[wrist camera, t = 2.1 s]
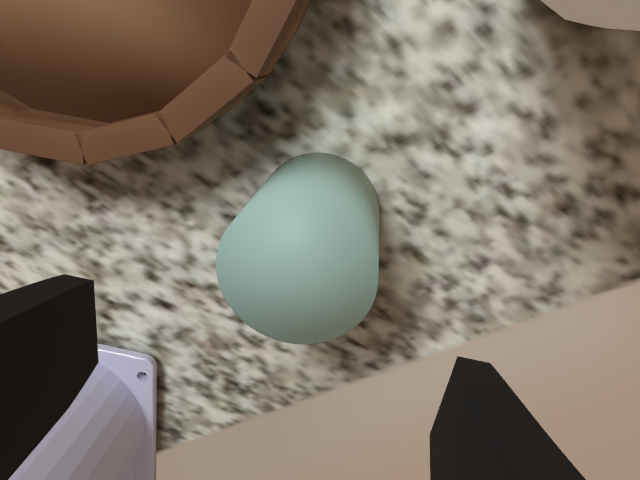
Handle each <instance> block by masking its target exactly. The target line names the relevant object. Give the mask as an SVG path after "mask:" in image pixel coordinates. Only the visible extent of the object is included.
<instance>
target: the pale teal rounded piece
mask: <svg viewBox="0 0 640 480" xmlns="http://www.w3.org/2000/svg"><path fill="white" fill-rule="evenodd" d="M379 226H380V207H379V200H378V196H377V193H376V191H375V188H374V186H373V185H372V183H371V181H370V180H369V178H368V177H367V176H366V175H365V173H364V172H363V171H362V170H360V169H359V168H358V167H357V166H356V165H354V164H353V163H351V162H350V161H348V160H346V159H344V158H341V157H339V156H336V155H332V154H327V153H308V154H303V155H300V156H296V157H294V158H292V159H290V160H288V161H286V162H285V163H283V164H282V165H281V166H279V167H278V168H277V169H276V170H275V171H274V172H273V173H272V175H271V176H270V177H269V178H268V179H267V181H266V182H265V183H264V184H263V185H262V187H261V188H260V189H259V190H258V192H257V193H256V194H255V195H254V196H253V198H252V199H251V200H250V201H249V202H248V204H247V205H246V206H245V207H244V208H243V210H242V211H241V212H240V213H239V214H238V216H237V217H236V218H235V219H234V220H233V222H232V223H231V224H230V225H229V227H228V228H227V230H226V231H225V233H224V235H223V237H222V239H221V241H220V244H219V247H218V250H217V257H216V273H217V279H218V283H219V286H220V289H221V291H222V294H223V296H224V298H225V300H226V301H227V303H228V305H229V306H230V307H231V309H232V310H233V311H234V313H235V314H236V315H237V316H238V317H239V318H240V319H241V320H242V321H243V322H245V323H246V324H247V325H248V326H250V327H251V328H253V329H254V330H256V331H257V332H259V333H261V334H263V335H265V336H267V337H270V338H272V339H275V340H278V341H282V342H286V343H293V344H316V343H322V342H326V341H329V340H333V339H335V338H338V337H340V336H342V335H344V334H345V333H347V332H349V331H350V330H352V329H353V328H354V327H355V326H357V325H358V324H359V323H360V322H361V321H362V320H363V319H364V317H365V316H366V315H367V313H368V312H369V310H370V308H371V306H372V304H373V302H374V300H375V297H376V294H377V288H378V277H379Z"/></svg>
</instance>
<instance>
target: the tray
mask: <svg viewBox="0 0 640 480" xmlns="http://www.w3.org/2000/svg"><path fill="white" fill-rule="evenodd" d="M310 1H311V0H0V149H3V150H9V151H14V152H19V153H24V154H29V155H34V156H40V157H45V158H50V159H55V160H60V161H65V162H71V163H76V164H81V165H85V164H87V165H90V164H94V163H98V162H103V161H107V160H111V159H116V158H120V157H124V156H129V155H133V154H137V153H141V152H146V151H150V150H154V149H159V148H163V147H167V146H172V145H175V144H177V143H179V142H181V141H183V140H185V139H187V138H189V137H191V136H193V135H195V134H196V133H198V132H200V131H201V130H202V129H204V128H205V127H206V126H207V125H209V124H210V123H211V122H212V121H214V120H215V119H216V118H217V117H219V116H220V115H221V114H223V113H224V112H226V111H227V110H229V109H230V108H232V107H233V106H234V105H236V104H237V103H239V102H240V101H241V100H242V99H243V98H244V97H245V96H246V95H247V94H248V93H249V92H250V91H251V90H253V89H254V88H255V87H256V86H257V85H258V84H260V83H261V82H262V81H263V80H265V79H266V78H267V77H268V76H267V74H271V72H272V70H273V68H274V67H275V65H276V63H277V61H278V60H279V59H280V57H281V56H282V54H283V52H284V51H285V49H286V47H287V46H288V44H289V43H290V41H291V39H292V38H293V36H294V34H295V33H296V31H297V29H298V28H299V25H300V23H301V21H302V19H303V17H304V14H305V12H306V10H307V8H308V5H309V3H310Z"/></svg>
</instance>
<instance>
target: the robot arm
mask: <svg viewBox="0 0 640 480" xmlns="http://www.w3.org/2000/svg"><path fill="white" fill-rule="evenodd" d="M142 372H143V373H146V375H144V374H143V373H142ZM156 416H157V363H156V361H155V359H154V358H153V357H152V356H150V355H148V354H144V353H139V352H135V351H130V350H125V349H121V348H116V347H111V346H107V345H102V344H97V328H96V311H95V295H94V280H89V279H84V278H79V277H75V276H70V275H65V274H64V275H60V276H56V277H53V278H49V279H46V280H42V281H39V282H36V283H33V284H30V285H27V286H24V287H21V288H18V289H15V290H12V291H9V292H6V293H4V294H1V295H0V480H156ZM430 473H431V480H586V479H585V478H584V477H583V476H582V475H581V474H580V473H579V471H578V470H577V469H576V468H575V467H574V466H573V464H572V463H571V462H570V461H569V460H568V458H567V457H566V456H565V455H564V454H563V453H562V451H561V450H560V449H559V448H558V447H557V445H556V444H555V443H554V442H553V440H552V439H551V438H550V437H549V436H548V434H547V433H546V432H545V431H544V429H543V428H542V427H541V426H540V425H539V423H538V422H537V421H536V420H535V418H534V417H533V416H532V414H531V413H530V412H529V411H528V410H527V408H526V407H525V406H524V404H523V403H522V402H521V401H520V399H519V398H518V397H517V396H516V394H515V393H514V392H513V391H512V389H511V388H510V387H509V386H508V384H507V383H506V382H505V380H504V379H503V378H502V377H501V376H500V374H499V373H498V372H497V371H496V369H495V368H494V367H493V366H492V365H491V364H490V363H487V362H482V361H476V360H472V359H467V358H463V357H457V359H456V363H455V365H454V368H453V371H452V374H451V376H450V379H449V382H448V385H447V388H446V391H445V393H444V396H443V399H442V402H441V405H440V407H439V410H438V413H437V416H436V419H435V422H434V424H433V427H432V430H431V433H430Z"/></svg>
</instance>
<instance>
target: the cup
mask: <svg viewBox="0 0 640 480" xmlns="http://www.w3.org/2000/svg"><path fill="white" fill-rule="evenodd" d="M541 1H542V2H543V3H544V4H545V5H547V6H548V7H549V8H551V9H552V10H553V11H555V12H556V13H557V14H558V15H560V16H561V17H562V18H564V19H565V20H569V21H573V22H577V23H582V24H586V25H590V26H595V27H601V28H607V29H620V30H634V31H640V0H541Z"/></svg>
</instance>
